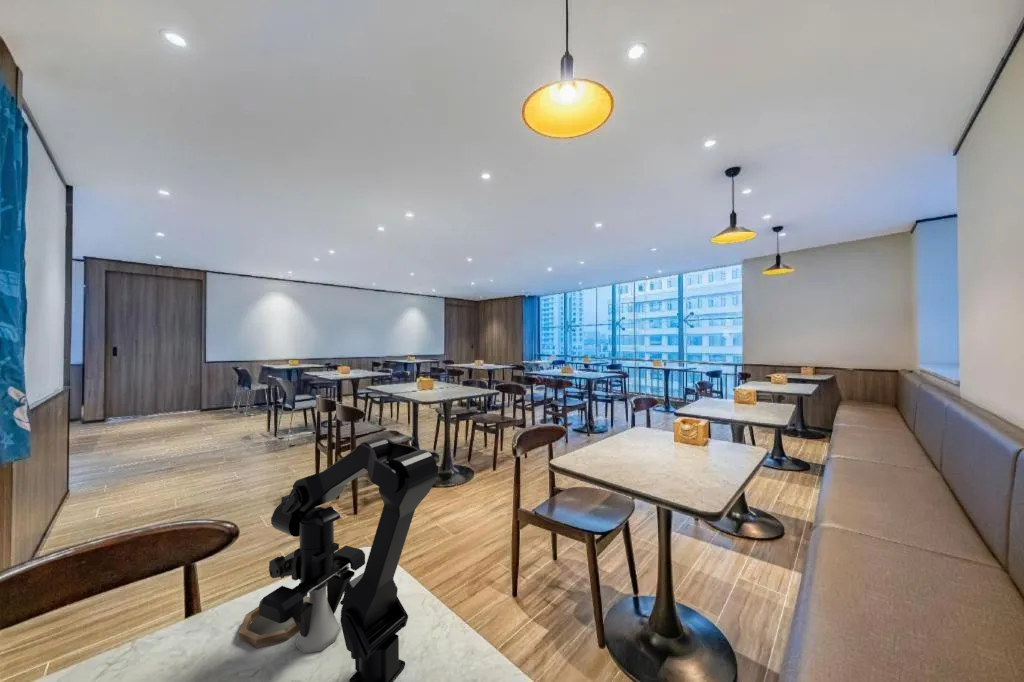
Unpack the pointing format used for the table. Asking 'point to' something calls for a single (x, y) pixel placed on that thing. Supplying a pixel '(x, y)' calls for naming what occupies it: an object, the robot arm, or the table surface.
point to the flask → (319, 623)
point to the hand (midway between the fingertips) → (318, 624)
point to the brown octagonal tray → (265, 630)
